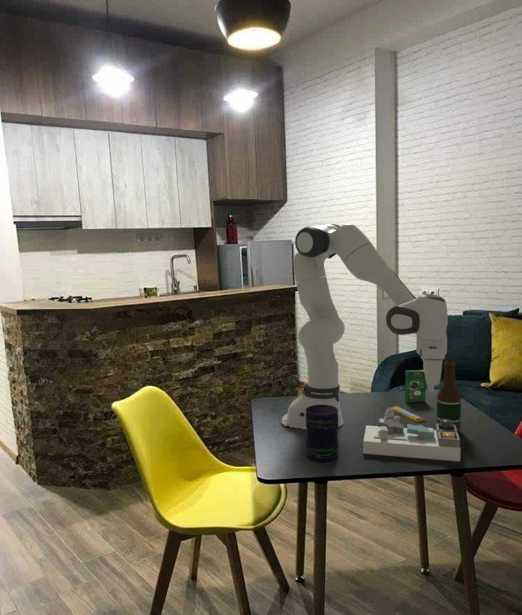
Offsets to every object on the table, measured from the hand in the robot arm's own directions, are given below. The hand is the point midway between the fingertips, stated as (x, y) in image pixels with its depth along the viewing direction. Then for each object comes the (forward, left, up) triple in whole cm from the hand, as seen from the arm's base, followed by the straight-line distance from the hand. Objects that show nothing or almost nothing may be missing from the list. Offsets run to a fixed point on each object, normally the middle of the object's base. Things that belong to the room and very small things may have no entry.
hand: (430, 391), depth 154 cm
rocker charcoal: (-12, +3, -13) cm, 18 cm away
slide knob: (-14, -4, -14) cm, 20 cm away
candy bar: (-6, +32, -19) cm, 38 cm away
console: (-6, 0, -19) cm, 20 cm away
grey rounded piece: (-12, +18, -19) cm, 29 cm away
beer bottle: (+7, +18, -19) cm, 27 cm away
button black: (+5, +3, -13) cm, 14 cm away
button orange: (+5, -4, -14) cm, 16 cm away
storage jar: (-32, -12, -19) cm, 39 cm away
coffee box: (-3, +50, -19) cm, 53 cm away
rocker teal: (-3, 0, -13) cm, 13 cm away
